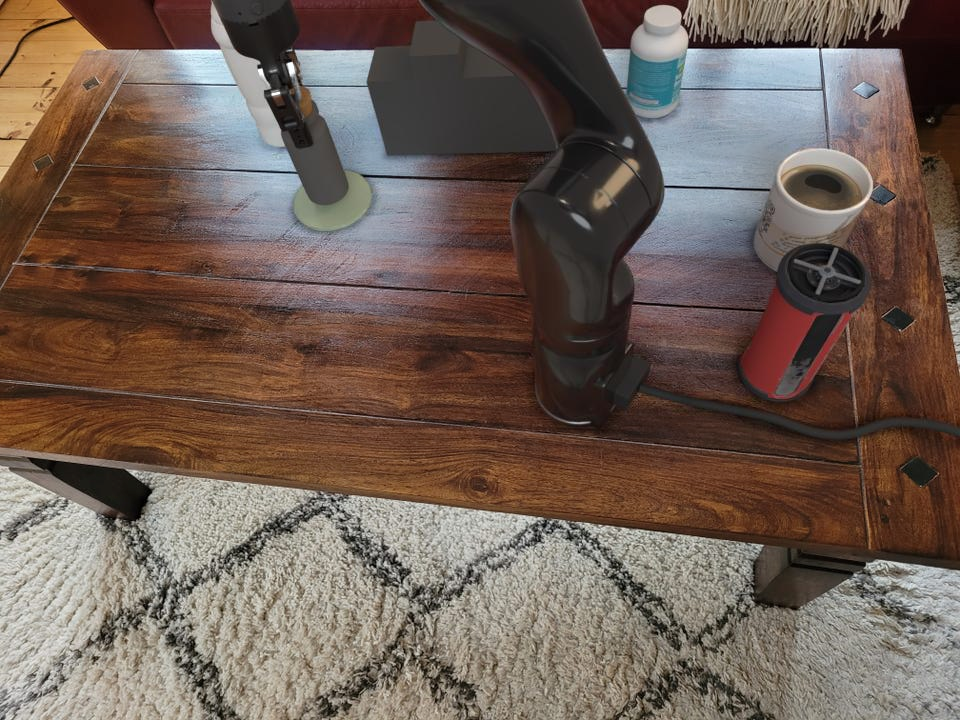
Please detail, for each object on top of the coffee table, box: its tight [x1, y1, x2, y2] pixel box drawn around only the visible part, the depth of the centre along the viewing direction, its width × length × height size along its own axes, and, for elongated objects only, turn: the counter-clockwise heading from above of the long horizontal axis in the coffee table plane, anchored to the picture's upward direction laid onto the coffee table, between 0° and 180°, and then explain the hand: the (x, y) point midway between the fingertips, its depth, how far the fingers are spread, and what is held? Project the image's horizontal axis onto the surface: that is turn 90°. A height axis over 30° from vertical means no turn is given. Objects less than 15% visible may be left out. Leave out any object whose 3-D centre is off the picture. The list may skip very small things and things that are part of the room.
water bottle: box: [210, 0, 286, 148], centre depth 93 cm, size 7×7×25 cm
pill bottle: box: [625, 4, 689, 119], centre depth 93 cm, size 8×7×14 cm
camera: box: [365, 19, 556, 157], centre depth 95 cm, size 25×16×16 cm, turn 86°
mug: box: [752, 147, 874, 273], centre depth 79 cm, size 10×12×11 cm
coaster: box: [292, 169, 373, 232], centre depth 95 cm, size 11×11×1 cm
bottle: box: [281, 85, 349, 205], centre depth 87 cm, size 6×6×15 cm
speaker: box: [737, 243, 872, 403], centre depth 67 cm, size 8×8×18 cm
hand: (303, 128), depth 85 cm, fingers closed on bottle, 5 cm apart
